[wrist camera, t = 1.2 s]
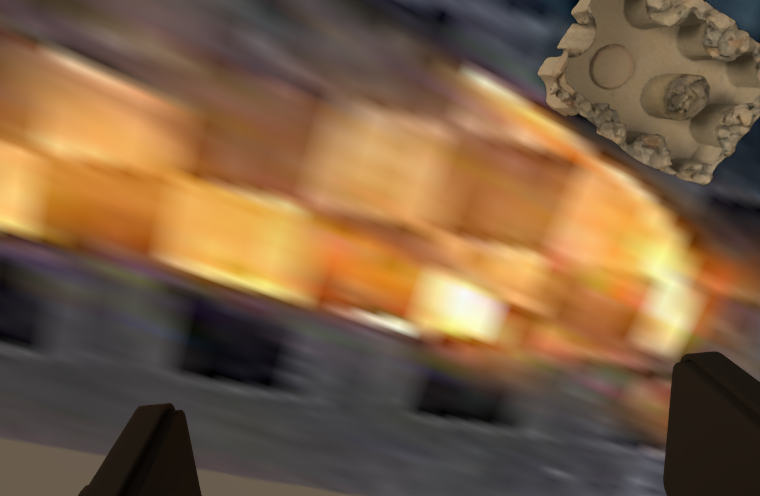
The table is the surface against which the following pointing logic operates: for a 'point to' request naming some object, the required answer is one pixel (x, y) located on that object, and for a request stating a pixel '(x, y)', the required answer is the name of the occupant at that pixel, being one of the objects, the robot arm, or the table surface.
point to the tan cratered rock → (659, 81)
